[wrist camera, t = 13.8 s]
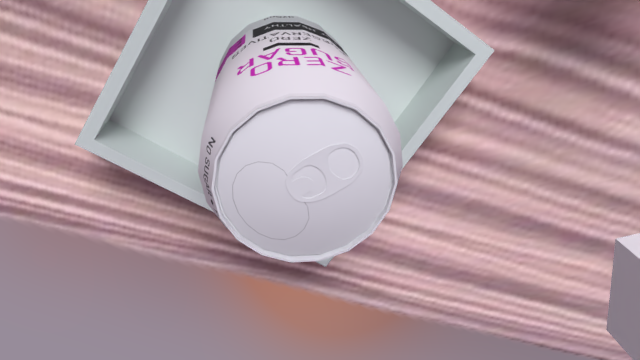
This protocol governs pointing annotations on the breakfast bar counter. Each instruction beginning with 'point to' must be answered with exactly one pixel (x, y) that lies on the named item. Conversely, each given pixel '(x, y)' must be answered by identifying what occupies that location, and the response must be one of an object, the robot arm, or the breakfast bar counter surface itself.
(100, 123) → the sage bin
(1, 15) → the breakfast bar counter surface
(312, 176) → the supplement can
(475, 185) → the breakfast bar counter surface
